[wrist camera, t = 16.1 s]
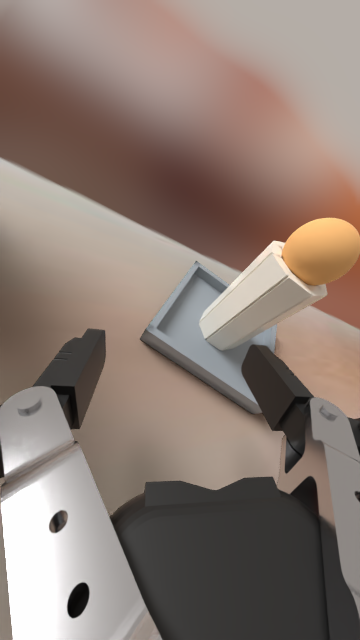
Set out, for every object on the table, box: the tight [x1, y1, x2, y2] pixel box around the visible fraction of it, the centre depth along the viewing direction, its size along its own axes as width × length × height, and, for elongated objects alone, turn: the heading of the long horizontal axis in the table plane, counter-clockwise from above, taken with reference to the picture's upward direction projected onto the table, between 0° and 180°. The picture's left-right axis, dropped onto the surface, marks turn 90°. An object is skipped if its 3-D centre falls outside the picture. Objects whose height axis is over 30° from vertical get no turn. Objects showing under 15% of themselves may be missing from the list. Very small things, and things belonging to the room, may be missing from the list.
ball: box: [281, 218, 360, 285], centre depth 15 cm, size 5×5×5 cm
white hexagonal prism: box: [199, 241, 327, 351], centre depth 20 cm, size 6×6×12 cm
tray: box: [140, 261, 277, 414], centre depth 25 cm, size 16×15×2 cm
